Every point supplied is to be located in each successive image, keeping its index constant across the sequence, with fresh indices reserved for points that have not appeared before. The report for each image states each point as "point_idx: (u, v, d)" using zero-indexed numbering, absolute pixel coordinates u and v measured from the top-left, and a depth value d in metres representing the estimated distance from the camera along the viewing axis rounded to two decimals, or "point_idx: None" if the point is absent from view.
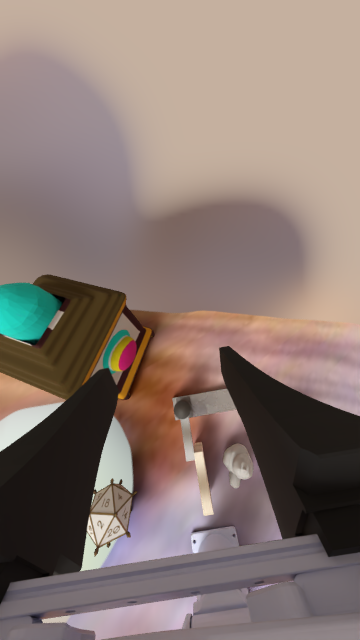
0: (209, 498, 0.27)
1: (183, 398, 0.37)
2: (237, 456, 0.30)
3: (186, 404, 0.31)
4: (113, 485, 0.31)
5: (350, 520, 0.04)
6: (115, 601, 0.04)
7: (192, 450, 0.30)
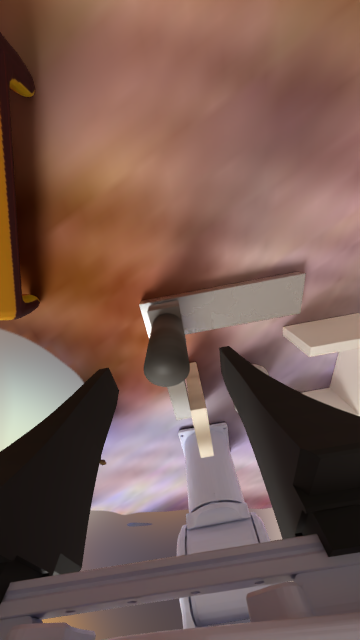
0: (210, 446, 0.19)
1: (164, 310, 0.16)
2: None
3: (179, 358, 0.11)
4: None
5: (350, 520, 0.04)
6: (115, 601, 0.04)
7: (187, 408, 0.16)
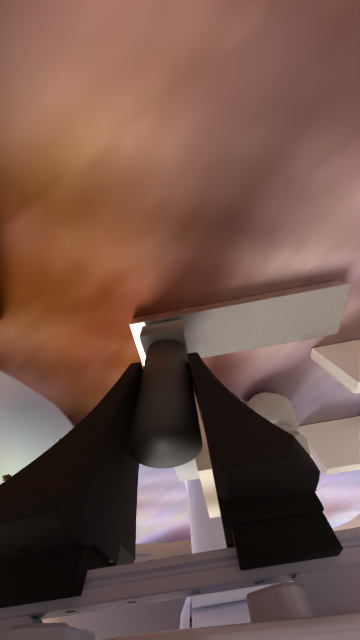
0: None
1: (163, 335, 0.12)
2: None
3: (185, 433, 0.07)
4: None
5: (264, 534, 0.04)
6: (115, 601, 0.04)
7: (194, 468, 0.12)
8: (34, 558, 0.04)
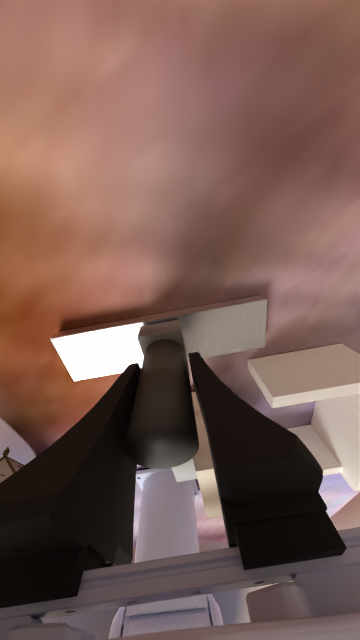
0: (220, 506, 0.14)
1: (161, 336, 0.12)
2: None
3: (181, 433, 0.07)
4: None
5: (268, 533, 0.04)
6: (115, 601, 0.04)
7: (192, 468, 0.12)
8: (30, 559, 0.04)
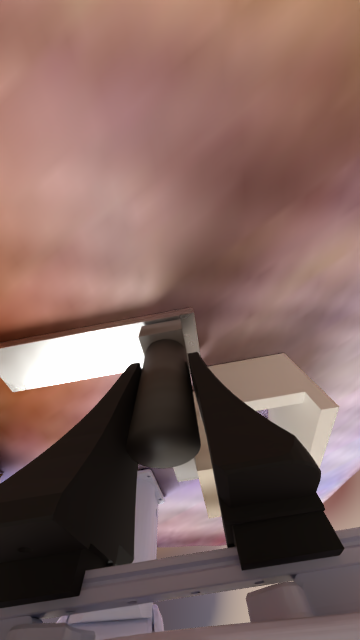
0: None
1: (162, 335, 0.12)
2: None
3: (183, 433, 0.07)
4: None
5: (265, 533, 0.04)
6: (115, 601, 0.04)
7: (193, 468, 0.12)
8: (32, 558, 0.04)
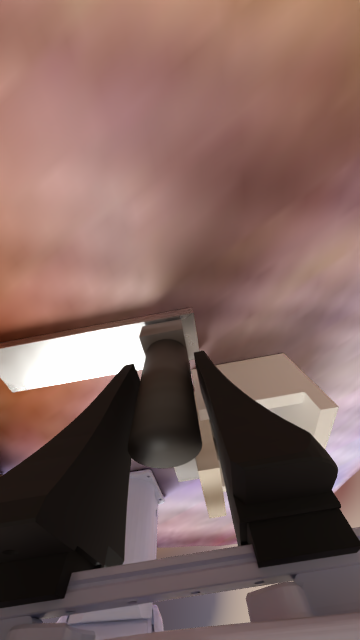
0: (222, 506, 0.14)
1: (162, 335, 0.12)
2: None
3: (184, 433, 0.07)
4: None
5: (282, 531, 0.04)
6: (115, 601, 0.04)
7: (194, 468, 0.12)
8: (18, 561, 0.04)
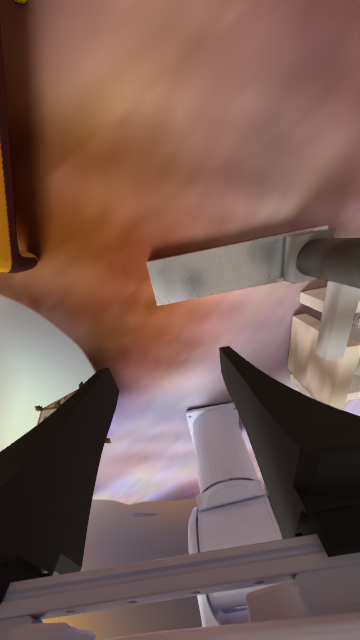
0: (345, 396, 0.17)
1: (317, 235, 0.14)
2: None
3: None
4: None
5: (350, 520, 0.04)
6: (115, 601, 0.04)
7: (344, 344, 0.14)
8: None
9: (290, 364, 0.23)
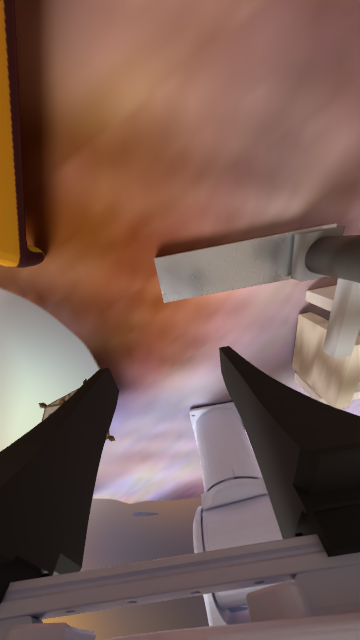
0: (351, 394, 0.17)
1: (326, 233, 0.14)
2: None
3: None
4: None
5: (350, 520, 0.04)
6: (115, 601, 0.04)
7: (352, 342, 0.14)
8: None
9: (295, 363, 0.23)
